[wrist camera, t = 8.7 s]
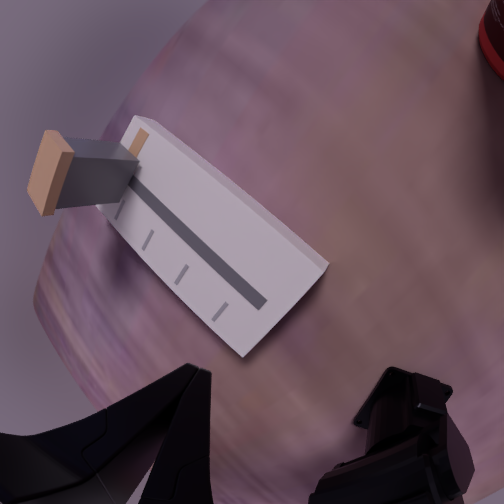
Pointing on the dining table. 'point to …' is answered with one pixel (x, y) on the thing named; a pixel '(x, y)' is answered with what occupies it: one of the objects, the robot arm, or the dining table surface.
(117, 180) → the slider handle
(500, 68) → the canned food
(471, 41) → the dining table surface
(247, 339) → the dimmer panel
